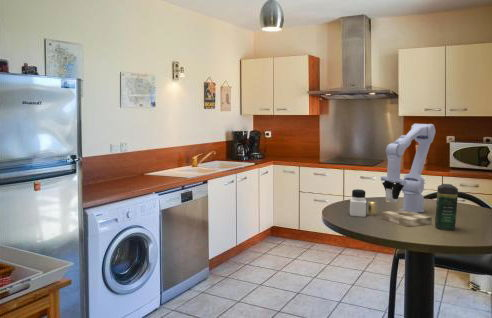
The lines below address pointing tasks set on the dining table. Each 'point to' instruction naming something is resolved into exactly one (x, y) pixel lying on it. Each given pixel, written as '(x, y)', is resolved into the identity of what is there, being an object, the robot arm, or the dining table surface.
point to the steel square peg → (390, 195)
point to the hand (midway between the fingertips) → (392, 198)
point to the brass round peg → (372, 208)
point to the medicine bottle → (358, 203)
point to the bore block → (406, 218)
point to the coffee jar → (446, 207)
